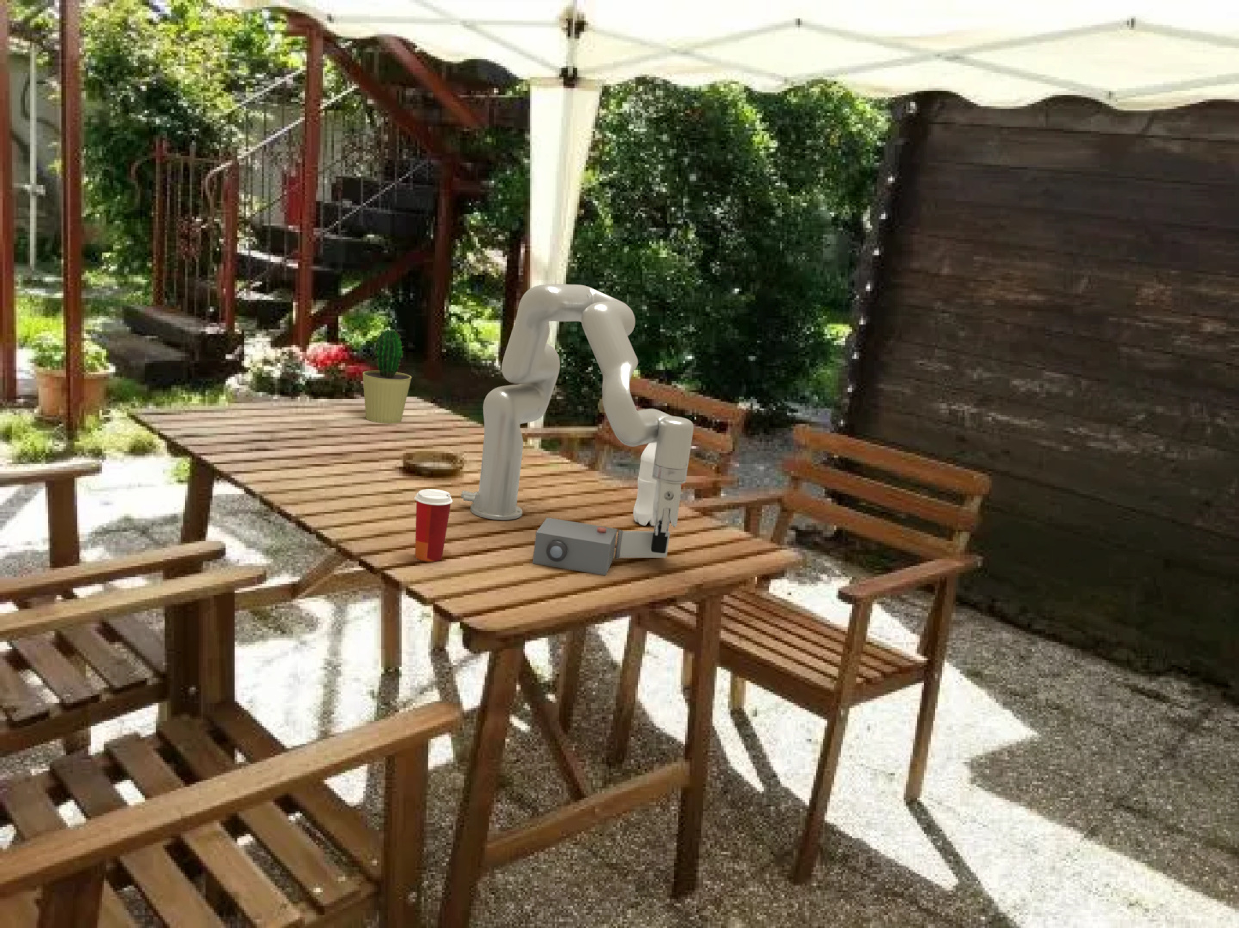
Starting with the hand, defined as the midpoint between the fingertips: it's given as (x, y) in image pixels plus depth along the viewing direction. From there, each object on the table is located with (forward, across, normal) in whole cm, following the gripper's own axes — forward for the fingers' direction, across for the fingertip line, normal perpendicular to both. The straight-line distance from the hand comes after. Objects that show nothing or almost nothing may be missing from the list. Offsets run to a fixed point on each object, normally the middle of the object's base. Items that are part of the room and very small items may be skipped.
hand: (658, 551), depth 239 cm
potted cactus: (+4, +116, +81) cm, 142 cm away
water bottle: (+3, +31, 0) cm, 31 cm away
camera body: (+3, -4, +19) cm, 19 cm away
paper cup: (+3, -12, +49) cm, 51 cm away
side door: (+3, +2, +4) cm, 5 cm away
